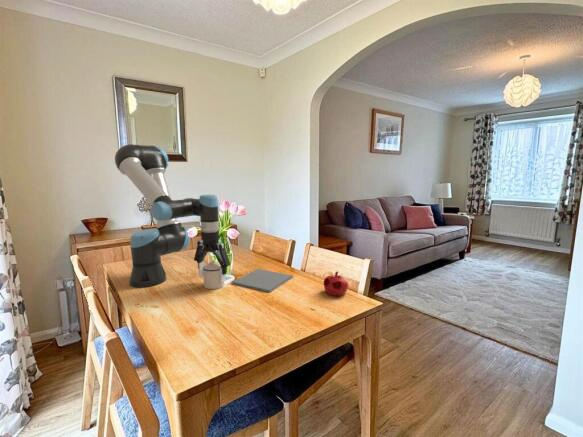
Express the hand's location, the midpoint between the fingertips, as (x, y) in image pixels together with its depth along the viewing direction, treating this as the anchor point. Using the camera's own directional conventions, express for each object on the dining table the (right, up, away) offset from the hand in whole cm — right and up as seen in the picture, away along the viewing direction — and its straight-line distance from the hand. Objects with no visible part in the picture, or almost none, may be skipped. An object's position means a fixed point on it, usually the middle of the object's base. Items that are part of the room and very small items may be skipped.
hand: (212, 278), depth 130 cm
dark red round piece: (+53, -4, -8) cm, 54 cm away
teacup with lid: (0, -3, 0) cm, 3 cm away
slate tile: (+22, -2, +5) cm, 23 cm away
